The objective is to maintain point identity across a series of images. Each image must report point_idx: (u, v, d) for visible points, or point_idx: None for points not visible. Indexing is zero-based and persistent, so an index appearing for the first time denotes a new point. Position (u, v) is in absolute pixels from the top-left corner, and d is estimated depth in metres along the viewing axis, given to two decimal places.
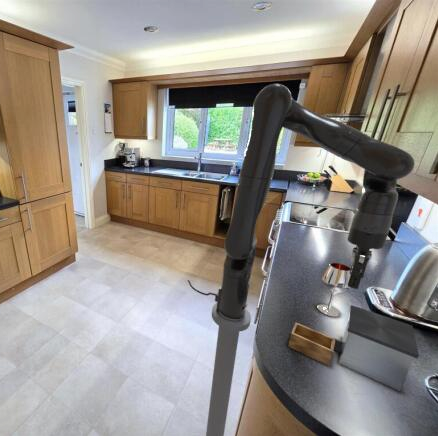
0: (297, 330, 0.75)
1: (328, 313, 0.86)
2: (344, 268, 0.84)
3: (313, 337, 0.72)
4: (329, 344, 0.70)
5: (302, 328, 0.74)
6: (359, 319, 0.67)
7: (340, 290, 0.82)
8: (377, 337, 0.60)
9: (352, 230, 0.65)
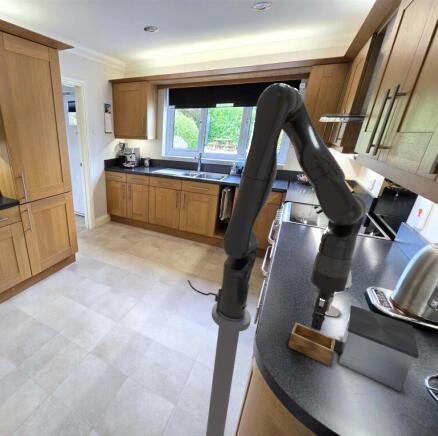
0: (297, 330, 0.75)
1: (328, 313, 0.86)
2: None
3: (313, 337, 0.72)
4: (329, 344, 0.70)
5: (302, 328, 0.74)
6: (359, 319, 0.67)
7: None
8: (377, 337, 0.60)
9: (314, 271, 0.64)
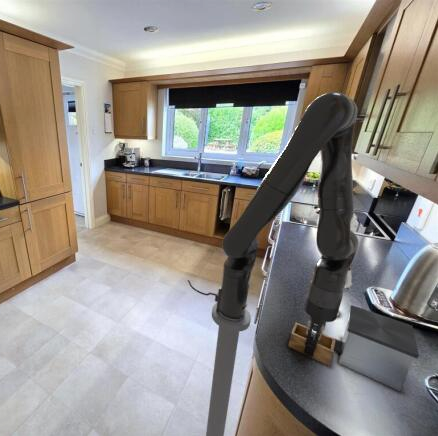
0: (297, 330, 0.75)
1: None
2: None
3: None
4: (329, 344, 0.70)
5: (302, 328, 0.74)
6: (359, 319, 0.67)
7: None
8: (377, 337, 0.60)
9: (307, 300, 0.67)
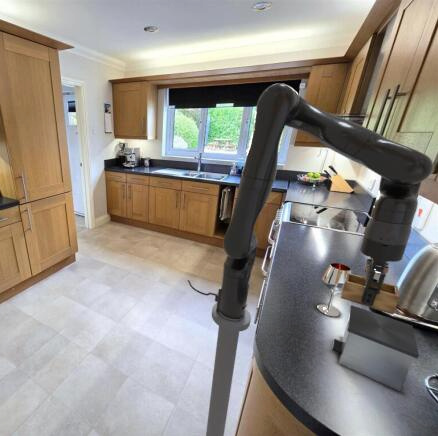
0: (349, 281, 0.66)
1: (328, 313, 0.86)
2: (344, 268, 0.84)
3: None
4: (390, 293, 0.61)
5: (356, 278, 0.65)
6: (359, 319, 0.67)
7: (340, 290, 0.81)
8: (377, 337, 0.60)
9: (366, 240, 0.59)
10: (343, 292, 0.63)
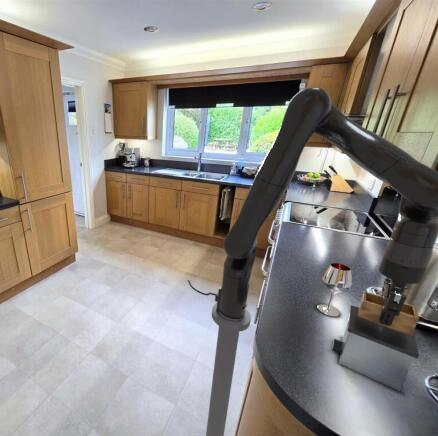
0: (365, 299, 0.67)
1: (328, 313, 0.86)
2: (344, 268, 0.84)
3: None
4: (407, 312, 0.62)
5: (372, 297, 0.66)
6: (359, 319, 0.67)
7: (340, 290, 0.81)
8: (377, 337, 0.60)
9: (385, 261, 0.59)
10: (360, 311, 0.64)
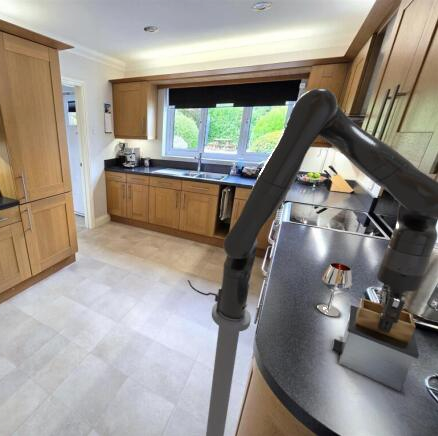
0: None
1: (328, 313, 0.86)
2: (344, 268, 0.84)
3: None
4: (404, 320, 0.62)
5: (370, 304, 0.66)
6: None
7: (340, 290, 0.81)
8: (377, 337, 0.60)
9: (383, 269, 0.60)
10: (358, 318, 0.64)
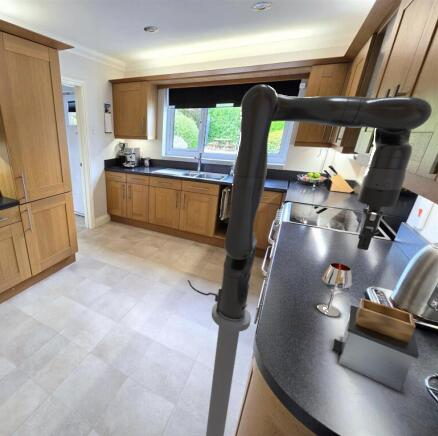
0: None
1: (328, 313, 0.86)
2: (344, 268, 0.84)
3: (383, 313, 0.65)
4: (404, 320, 0.62)
5: (370, 304, 0.66)
6: None
7: (340, 290, 0.81)
8: (377, 337, 0.60)
9: (362, 189, 0.62)
10: (358, 318, 0.64)
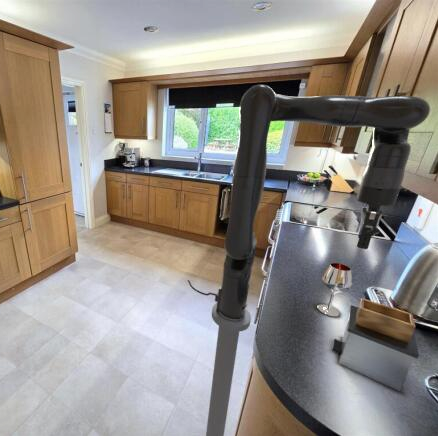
0: None
1: (328, 313, 0.86)
2: (344, 268, 0.84)
3: (383, 313, 0.65)
4: (404, 320, 0.62)
5: (370, 304, 0.66)
6: None
7: (340, 290, 0.81)
8: (377, 337, 0.60)
9: (362, 188, 0.63)
10: (358, 318, 0.64)
